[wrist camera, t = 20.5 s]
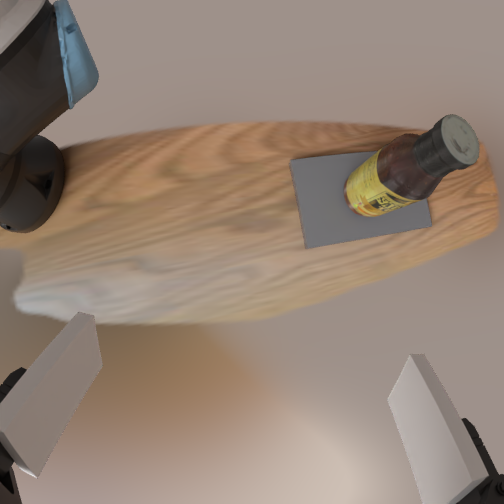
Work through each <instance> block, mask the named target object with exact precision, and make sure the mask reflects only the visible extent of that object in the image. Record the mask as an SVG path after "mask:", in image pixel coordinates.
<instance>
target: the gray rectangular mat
mask: <svg viewBox="0 0 504 504" xmlns="http://www.w3.org/2000/svg"><path fill="white" fill-rule="evenodd" d="M377 152H378V151H372V152H360V153H349V154H338V155H329V156H320V157H311V158H303V159H295V160H290V163H289V166H290V171H291V176H292V181H293V186H294V190H295V196H296V201H297V206H298V211H299V216H300V221H301V227H302V232H303V238H304V243H305V249H309V248H315V247H320V246H326V245H332V244H337V243H343V242H349V241H354V240H360V239H365V238H371V237H377V236H382V235H388V234H393V233H399V232H404V231H410V230H415V229H421V228H426V227H431V226H432V223H431V218H430V213H429V208H428V203H427V198H426V199H423V200H421V201H418V202H415V203H413V204H410V205H407V206H405V207H402V208H399V209H396V210H393V211H391V212H388V213H385V214H382V215H380V216H376V217H364V216H360V215H358V214H356V213H354V212H353V211H352V210H351V209H350V208H349V207H348V205H347V204H346V201H345V198H344V184H345V182H346V180H347V179H348V178H349V176H350V175H351V173H352V172H353V171H355V170H356V169H357V168H358V167H359V166H361V165H362V164H363V163H364V162H365V161H367V160H368V159H369V158H370V157H372V156H373V155H374V154H375V153H377Z"/></svg>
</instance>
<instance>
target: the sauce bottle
mask: <svg viewBox="0 0 504 504" xmlns="http://www.w3.org/2000/svg"><path fill="white" fill-rule="evenodd" d="M478 157H479V142H478V138H477V136H476V134H475V132H474V130H473V129H472V127H471V126H470V125H469V124H468V123H467V122H466V120H464V119H463V118H461V117H459V116H457V115H447V116H445V117H443V118H442V119H441V120H439V121H438V122H437V123H436V124H435V125H434V127H433V128H432V129H431V130H429V131H428V132H426V133H424V134H422V135H418V134H404V135H402V136H399V137H397V138H396V139H394V140H393V141H392V142H391V143H389V144H387V145H385V146H384V147H383V148H381V149H380V150H379V151H378V152H377V153H375V154H374V155H373V156H372V157H370V158H369V159H368V160H367V161H365V162H364V163H363V164H362V165H361V166H359V167H358V168H357V169H356V170H355V171H353V172H352V173H351V175H350V176H349V178H348V179H347V180H346V182H345V184H344V198H345V201H346V204H347V205H348V207H349V208H350V209H351V210H352V211H353V212H354V213H356V214H358V215H360V216H364V217H376V216H380V215H382V214H385V213H388V212H391V211H393V210H396V209H399V208H402V207H405V206H407V205H410V204H413V203H415V202H418V201H421V200H423V199H426V198H428V197H429V196H430V195H431V194H432V192H433V191H434V189H435V188H436V187H437V185H438V184H439V182H440V181H441V180H442V178H443V177H445V176H446V175H447V174H448V173H450V172H452V171H454V170H457V169H458V170H460V169H465V168H467V167H468V166H470V165H472V164H474V163H475V162H476V161H477V159H478Z"/></svg>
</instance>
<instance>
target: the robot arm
mask: <svg viewBox="0 0 504 504" xmlns="http://www.w3.org/2000/svg"><path fill="white" fill-rule="evenodd" d="M98 78H99V74H98V70H97V68H96V65H95V63H94V60H93V58H92V56H91V53H90V51H89V49H88V46H87V44H86V42H85V39H84V37H83V35H82V33H81V30H80V28H79V25H78V23H77V21H76V18H75V16H74V14H73V11H72V9H71V7H70V5H69V3H68V1H67V0H59V1H58V0H57V1H55V2H54V4H53V5H52V4H51V3H50V2H49V1H48V0H0V226H1V227H2V228H4V229H6V230H8V231H11V232H17V233H28V232H31V231H33V230H35V229H37V228H38V227H40V226H41V225H42V224H43V223H44V222H45V221H46V220H47V219H48V218H49V216H50V215H51V214H52V212H53V210H54V209H55V207H56V205H57V203H58V200H59V198H60V195H61V192H62V188H63V183H64V161H63V157H62V154H61V152H60V150H59V149H58V147H57V146H56V145H55V144H54V143H53V142H51V141H50V140H48V139H47V138H45V137H43V136H40V135H38V134H39V133H40V132H41V131H42V130H43V129H45V128H46V127H47V126H48V125H49V124H50V123H52V122H53V121H54V120H55V119H56V118H57V117H59V116H60V115H61V114H62V113H64V112H65V111H66V110H68V109H72V108H73V107H74V104H76V103H77V102H78V101H79V100H80V99H82V98H83V97H84V96H86V95H87V94H88V93H89V92H91V91H92V90H93V89H94V88H95V86H96V85H97V82H98ZM102 366H103V364H102V360H101V354H100V349H99V344H98V338H97V332H96V326H95V319H94V315H90V314H86V313H82V312H78V313H77V314H76V315H75V316H74V317H73V319H72V320H71V321H70V322H69V323H68V324H67V325H66V326H65V327H64V328H63V329H62V331H61V332H60V333H59V334H58V335H57V336H56V337H55V338H54V340H53V341H52V342H51V343H50V344H49V345H48V346H47V348H46V349H45V350H44V351H43V352H42V353H41V354H40V356H39V357H38V358H37V359H36V360H35V361H34V363H33V364H32V365H31V366H30V367H29V369H28V370H27V369H24V368H22V367H21V368H19V369H17V370H16V371H14V372H12V373H11V374H10V375H9V376H8V377H7V378H6V380H5V381H4V382H3V384H1V386H0V504H22V502H21V498H20V495H19V491H18V487H17V483H16V479H15V475H14V471H13V469H12V467H11V466H12V464H13V462H15V463H16V464H17V465H18V467H19V468H20V469H21V470H22V471H24V472H26V473H28V474H30V475H31V476H33V477H35V478H37V479H38V477H39V475H40V473H41V471H42V469H43V467H44V465H45V464H46V462H47V460H48V458H49V456H50V454H51V452H52V451H53V449H54V447H55V445H56V443H57V442H58V440H59V438H60V436H61V435H62V433H63V431H64V429H65V427H66V426H67V424H68V422H69V421H70V419H71V417H72V415H73V414H74V412H75V410H76V409H77V407H78V405H79V404H80V402H81V400H82V398H83V397H84V395H85V394H86V392H87V390H88V389H89V387H90V385H91V384H92V382H93V380H94V379H95V377H96V376H97V374H98V372H99V371H100V369H101V368H102ZM387 400H388V403H389V406H390V408H391V411H392V414H393V416H394V419H395V422H396V425H397V427H398V430H399V433H400V436H401V438H402V442H403V444H404V447H405V450H406V453H407V456H408V459H409V462H410V465H411V468H412V471H413V474H414V477H415V481H416V484H417V487H418V490H419V494H420V497H421V500H422V503H423V504H504V475H503V474H500V475H499V474H498V472H497V470H496V468H495V466H494V464H493V462H492V460H491V458H490V456H489V454H488V452H487V450H486V448H485V446H483V442H482V440H481V438H479V434H478V432H477V431H476V429H475V427H474V426H473V425H472V424H471V423H470V422H469V421H468V420H467V419H466V418H463V419H461V418H460V416H459V414H458V412H457V410H456V408H455V407H454V405H453V403H452V401H451V399H450V398H449V396H448V394H447V392H446V390H445V389H444V387H443V385H442V384H441V382H440V380H439V378H438V377H437V375H436V373H435V372H434V370H433V368H432V367H431V365H430V363H429V362H428V360H427V358H426V357H425V355H423V354H410V355H409V357H408V359H407V362H406V364H405V366H404V368H403V370H402V372H401V374H400V376H399V378H398V380H397V382H396V384H395V386H394V388H393V389H392V391H391V393H390V396H389V397H388V399H387Z"/></svg>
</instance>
